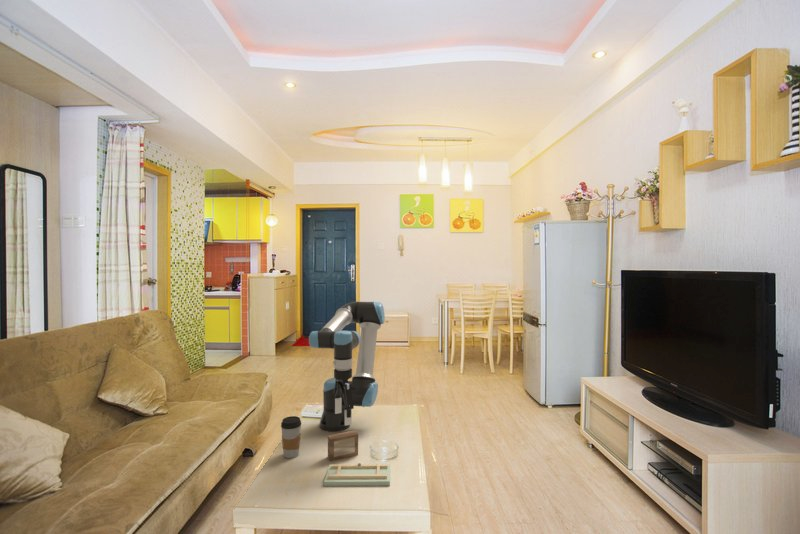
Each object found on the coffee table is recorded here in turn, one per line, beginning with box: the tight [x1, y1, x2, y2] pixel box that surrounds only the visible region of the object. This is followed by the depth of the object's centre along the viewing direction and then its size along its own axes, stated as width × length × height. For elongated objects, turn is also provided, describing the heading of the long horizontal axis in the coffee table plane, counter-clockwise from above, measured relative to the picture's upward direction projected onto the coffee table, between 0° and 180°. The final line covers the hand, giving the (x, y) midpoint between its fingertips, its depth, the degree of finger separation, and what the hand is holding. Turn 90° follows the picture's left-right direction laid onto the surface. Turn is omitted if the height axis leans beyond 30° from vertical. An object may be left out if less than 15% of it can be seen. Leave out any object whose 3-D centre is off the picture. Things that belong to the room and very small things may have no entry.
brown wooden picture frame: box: [327, 429, 359, 462], centre depth 163 cm, size 4×12×9 cm, turn 116°
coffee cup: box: [280, 415, 302, 459], centre depth 164 cm, size 8×8×15 cm
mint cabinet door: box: [323, 462, 391, 487], centre depth 148 cm, size 12×24×3 cm, turn 91°
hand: (342, 418), depth 163 cm, fingers open, 13 cm apart
